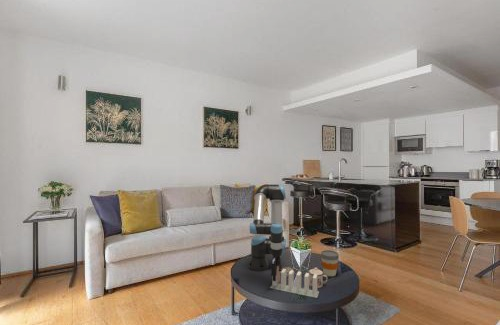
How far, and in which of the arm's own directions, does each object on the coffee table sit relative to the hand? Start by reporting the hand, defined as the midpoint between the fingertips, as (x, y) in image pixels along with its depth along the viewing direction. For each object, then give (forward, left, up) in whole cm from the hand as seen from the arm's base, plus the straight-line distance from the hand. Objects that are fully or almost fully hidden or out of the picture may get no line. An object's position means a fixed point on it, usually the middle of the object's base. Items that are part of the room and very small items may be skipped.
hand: (276, 283), depth 172 cm
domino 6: (+25, 0, -2) cm, 25 cm away
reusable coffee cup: (+30, +35, -3) cm, 46 cm away
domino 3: (+10, 0, -2) cm, 10 cm away
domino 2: (+5, 0, -2) cm, 5 cm away
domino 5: (+20, 0, -2) cm, 20 cm away
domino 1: (0, 0, 0) cm, 0 cm away
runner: (+12, 0, -3) cm, 12 cm away
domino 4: (+15, 0, -2) cm, 15 cm away
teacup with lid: (+25, +13, -3) cm, 28 cm away
